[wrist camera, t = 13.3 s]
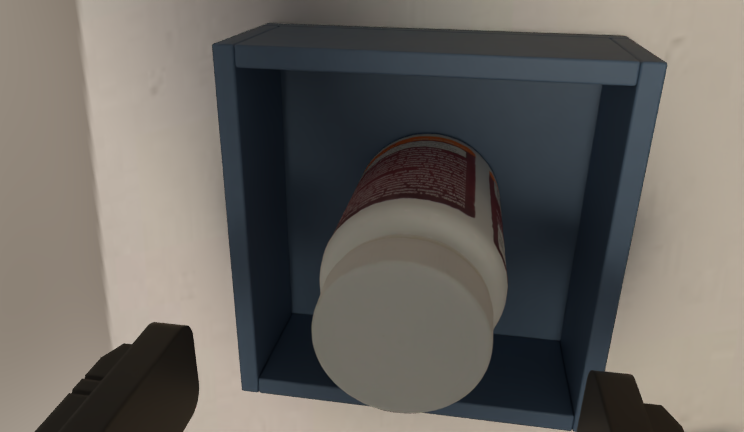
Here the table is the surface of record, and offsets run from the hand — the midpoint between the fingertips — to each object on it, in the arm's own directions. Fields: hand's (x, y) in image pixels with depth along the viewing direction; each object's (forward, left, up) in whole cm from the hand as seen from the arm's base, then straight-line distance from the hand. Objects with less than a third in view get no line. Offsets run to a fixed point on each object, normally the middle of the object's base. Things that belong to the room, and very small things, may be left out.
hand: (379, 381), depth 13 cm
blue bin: (0, 0, -10) cm, 10 cm away
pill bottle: (0, 0, -10) cm, 10 cm away
